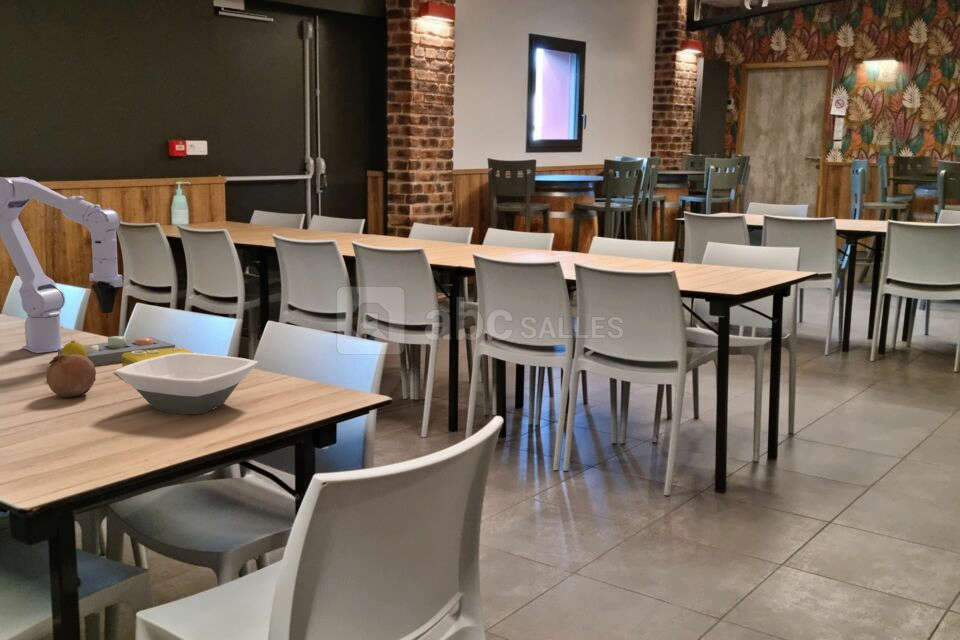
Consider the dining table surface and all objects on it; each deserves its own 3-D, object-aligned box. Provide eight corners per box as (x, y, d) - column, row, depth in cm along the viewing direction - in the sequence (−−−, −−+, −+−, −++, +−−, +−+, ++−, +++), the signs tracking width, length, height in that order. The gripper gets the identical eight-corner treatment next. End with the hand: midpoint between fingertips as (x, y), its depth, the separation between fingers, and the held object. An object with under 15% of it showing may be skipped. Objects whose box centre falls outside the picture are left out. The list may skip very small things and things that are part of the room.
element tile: (141, 383, 212) (140, 362, 211) (119, 371, 223) (119, 351, 222) (206, 375, 221) (206, 355, 220) (182, 363, 232) (182, 344, 231)
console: (58, 358, 232) (57, 348, 232) (151, 346, 249) (150, 337, 249) (80, 367, 223) (80, 357, 223) (175, 354, 240) (175, 344, 240)
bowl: (203, 427, 178) (202, 383, 177) (105, 413, 186) (103, 370, 184) (268, 400, 198) (268, 360, 197) (177, 388, 206) (176, 350, 205)
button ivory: (77, 356, 231) (76, 345, 231) (94, 354, 234) (94, 343, 234) (84, 359, 228) (84, 348, 228) (101, 356, 231) (101, 346, 231)
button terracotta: (132, 349, 241) (132, 339, 241) (148, 347, 244) (148, 337, 244) (140, 351, 238) (140, 341, 238) (156, 349, 241) (155, 339, 241)
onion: (55, 413, 196) (29, 373, 191) (70, 390, 204) (45, 351, 200) (97, 398, 195) (71, 358, 190) (110, 376, 203) (86, 337, 199)
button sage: (105, 347, 236) (105, 337, 236) (121, 345, 239) (121, 335, 238) (112, 350, 233) (112, 339, 233) (129, 348, 236) (129, 337, 236)
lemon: (81, 378, 213) (80, 343, 212) (57, 377, 213) (55, 342, 212) (92, 372, 219) (90, 338, 217) (68, 372, 219) (66, 337, 218)
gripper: (133, 260, 234) (135, 314, 236) (107, 254, 244) (109, 307, 246) (105, 261, 229) (108, 317, 231) (80, 256, 239) (82, 310, 241)
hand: (107, 312), depth 238 cm, fingers closed
